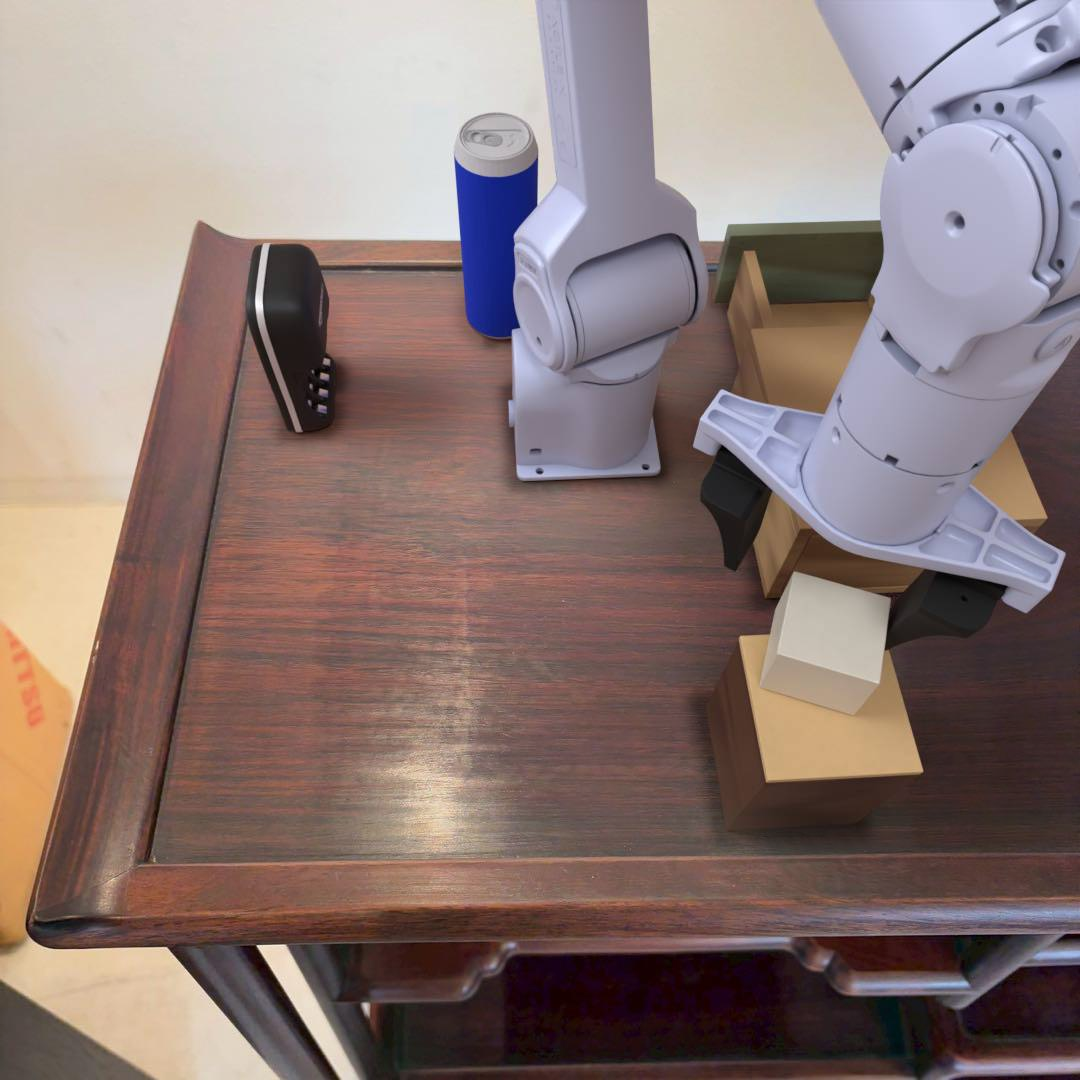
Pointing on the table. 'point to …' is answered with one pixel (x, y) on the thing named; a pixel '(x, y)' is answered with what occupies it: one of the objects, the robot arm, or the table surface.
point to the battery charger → (292, 332)
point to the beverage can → (493, 213)
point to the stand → (777, 802)
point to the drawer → (797, 274)
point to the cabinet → (809, 384)
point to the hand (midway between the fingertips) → (810, 592)
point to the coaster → (829, 729)
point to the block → (826, 643)
